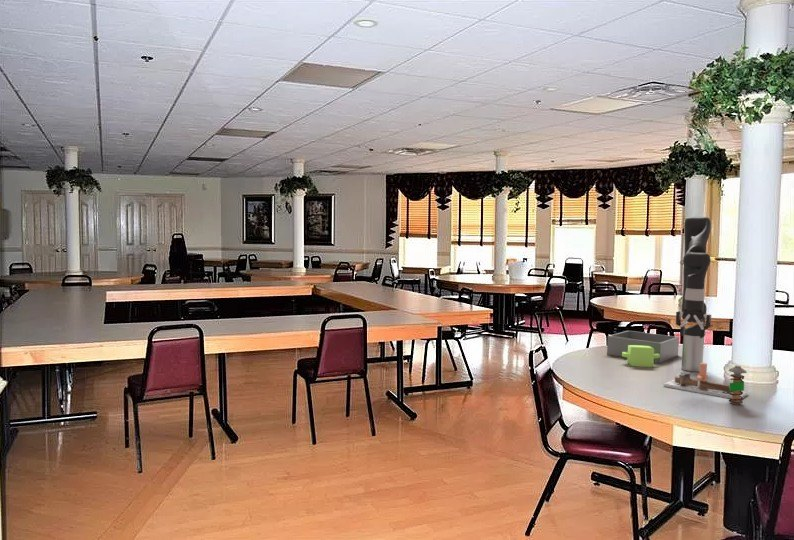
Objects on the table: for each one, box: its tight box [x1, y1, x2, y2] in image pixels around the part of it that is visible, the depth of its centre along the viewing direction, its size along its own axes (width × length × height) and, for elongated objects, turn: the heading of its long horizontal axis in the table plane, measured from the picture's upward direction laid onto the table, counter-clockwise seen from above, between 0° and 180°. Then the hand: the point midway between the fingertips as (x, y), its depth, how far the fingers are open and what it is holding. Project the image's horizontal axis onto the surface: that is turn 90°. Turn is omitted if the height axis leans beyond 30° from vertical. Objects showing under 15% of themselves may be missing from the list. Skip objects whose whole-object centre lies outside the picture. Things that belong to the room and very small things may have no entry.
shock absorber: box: [728, 365, 748, 406], centre depth 250 cm, size 6×6×15 cm
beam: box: [674, 371, 741, 393], centre depth 270 cm, size 8×26×4 cm, turn 48°
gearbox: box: [622, 345, 660, 368], centre depth 319 cm, size 18×10×10 cm, turn 84°
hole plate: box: [663, 378, 749, 399], centre depth 270 cm, size 12×30×1 cm, turn 48°
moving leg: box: [695, 362, 709, 387], centre depth 271 cm, size 8×3×9 cm, turn 138°
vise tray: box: [606, 330, 680, 364], centre depth 344 cm, size 28×28×10 cm
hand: (692, 336), depth 275 cm, fingers open, 7 cm apart
